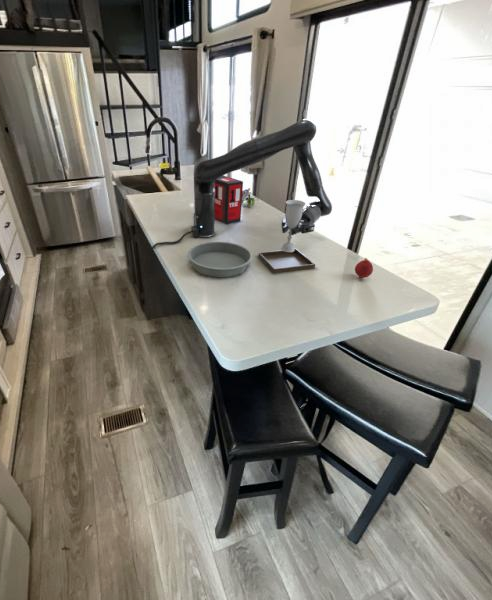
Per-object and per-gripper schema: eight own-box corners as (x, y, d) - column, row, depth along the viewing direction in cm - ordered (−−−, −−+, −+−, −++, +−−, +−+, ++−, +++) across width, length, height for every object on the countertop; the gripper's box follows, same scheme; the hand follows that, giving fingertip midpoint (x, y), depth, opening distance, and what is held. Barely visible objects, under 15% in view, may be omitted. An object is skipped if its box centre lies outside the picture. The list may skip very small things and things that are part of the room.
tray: (273, 273, 118) (274, 269, 117) (258, 256, 130) (258, 252, 129) (314, 268, 122) (315, 264, 121) (295, 252, 134) (296, 248, 133)
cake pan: (206, 285, 110) (206, 274, 108) (178, 258, 128) (177, 247, 126) (264, 271, 120) (265, 260, 117) (230, 247, 138) (231, 237, 136)
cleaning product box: (208, 215, 174) (209, 177, 163) (221, 212, 178) (223, 175, 167) (226, 224, 162) (228, 183, 151) (240, 221, 166) (243, 181, 156)
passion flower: (239, 214, 193) (232, 195, 193) (254, 209, 196) (248, 190, 195) (245, 208, 182) (238, 188, 182) (261, 202, 185) (254, 183, 184)
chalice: (276, 245, 125) (283, 199, 116) (293, 245, 126) (301, 199, 116) (281, 253, 119) (289, 206, 109) (299, 253, 120) (308, 205, 110)
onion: (369, 276, 117) (375, 256, 113) (370, 283, 113) (377, 263, 108) (352, 273, 119) (357, 253, 114) (352, 280, 114) (358, 260, 110)
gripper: (290, 206, 129) (271, 217, 117) (324, 213, 123) (308, 225, 111) (287, 224, 133) (269, 236, 121) (320, 231, 127) (304, 245, 115)
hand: (288, 231), depth 116 cm, fingers closed on chalice, 3 cm apart
